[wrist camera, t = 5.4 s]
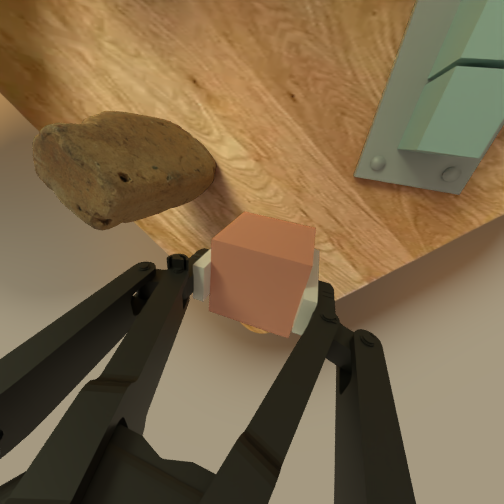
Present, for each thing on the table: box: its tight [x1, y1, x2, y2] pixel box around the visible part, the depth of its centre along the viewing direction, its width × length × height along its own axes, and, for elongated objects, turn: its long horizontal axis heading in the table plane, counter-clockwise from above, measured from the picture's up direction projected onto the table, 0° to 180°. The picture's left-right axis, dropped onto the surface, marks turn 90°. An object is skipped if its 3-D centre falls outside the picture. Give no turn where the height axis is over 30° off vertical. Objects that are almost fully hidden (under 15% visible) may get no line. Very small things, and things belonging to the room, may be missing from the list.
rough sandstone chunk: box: [32, 111, 216, 230], centre depth 25 cm, size 11×8×20 cm
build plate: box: [353, 0, 504, 195], centre depth 19 cm, size 20×12×7 cm, turn 172°
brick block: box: [209, 211, 316, 338], centre depth 16 cm, size 6×6×6 cm
